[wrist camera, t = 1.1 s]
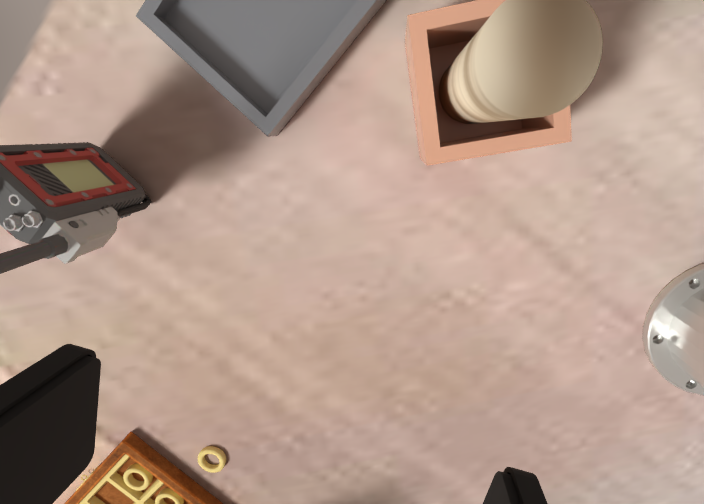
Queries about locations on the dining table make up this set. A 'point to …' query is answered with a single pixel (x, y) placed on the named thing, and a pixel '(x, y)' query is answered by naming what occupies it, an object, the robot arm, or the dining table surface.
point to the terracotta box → (425, 75)
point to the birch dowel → (524, 62)
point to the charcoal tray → (260, 47)
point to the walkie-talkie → (62, 200)
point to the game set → (144, 478)
